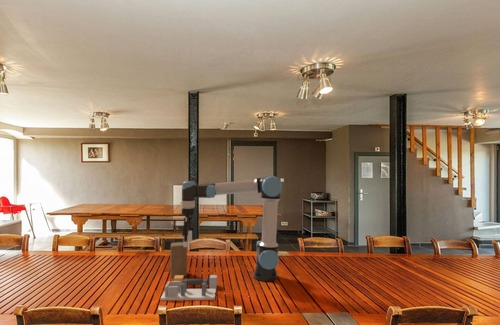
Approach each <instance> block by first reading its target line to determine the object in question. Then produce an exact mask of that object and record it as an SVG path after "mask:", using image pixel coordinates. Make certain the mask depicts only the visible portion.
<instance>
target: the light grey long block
mask: <svg viewBox="0 0 500 325" xmlns="http://www.w3.org/2000/svg"><path fill="white" fill-rule="evenodd" d="M207 287H208V286H207V280H203V283H202V285H201V288H188V285H187V280H183V284H181V281H174V280H172V281H170V280H169V281H167V282H166V284H165V286H164V291H163V293H162V295H161V297H160V301H206V300H207V301H210V300H211V301H212V300H214V301H215V300H216V294H215V293H217V288H207Z"/></svg>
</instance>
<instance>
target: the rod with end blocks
mask: <svg viewBox="0 0 500 325" xmlns="http://www.w3.org/2000/svg"><path fill="white" fill-rule="evenodd" d="M183 280H187V286H195V285H197V286H198V285H199V286H202V283H203V280H207V285H209V286H208V289H217V286H218V275H217V274H210V275H209V278H185V276H184V275H175V277H173V281H181V284H183Z"/></svg>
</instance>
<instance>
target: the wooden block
mask: <svg viewBox="0 0 500 325" xmlns="http://www.w3.org/2000/svg"><path fill="white" fill-rule="evenodd" d="M187 273H188V247H183V241H181V242H179V241H178V242H172V243H170V277H171V278H174V277H175V275H184V277H186V276H187V275H188V274H187Z"/></svg>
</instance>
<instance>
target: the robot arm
mask: <svg viewBox="0 0 500 325" xmlns="http://www.w3.org/2000/svg"><path fill="white" fill-rule="evenodd" d="M282 191H283V182H282V181H281V180H280V177H278V176H275V175H266V176H262V177H256V178H255V179H249V180H239V181H226V182H215V183H205V184H196V182H195V181H183V182H182V186H181V202H180V204H181V215H182V216H184V218H183V228H182V234H181V236H183V240H182V242H183V247H187V248H189V243H190V242H191V243H192V242H193V231H194V228H193V215H195V212H196V211H195V210H196V208H195V207H196V199H197V198H198V199H199V198H201V199H202V198H203V199H206V198H207V199H212V198H213V199H214V198H215V197H216V196H221V195H233V194H246V193H257V194H260V199H261V200H262V201H263V202H262V204H263V206H262V223H261V226H262V228H261V240H257V241H256V246H255V247H256V259H255V262H256V263H255V264H256V265H255V269H254V271H253V279H254V280H257V281H259V282H260V281H261V282H272V281H275V280H277V279H278V271H277V268H276V267H277V266H278V264H279V262H280V257H279V244H278V242H277V230H278V228H277V226H278V206H279V201H281V199H282V198H281V195H282Z"/></svg>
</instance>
